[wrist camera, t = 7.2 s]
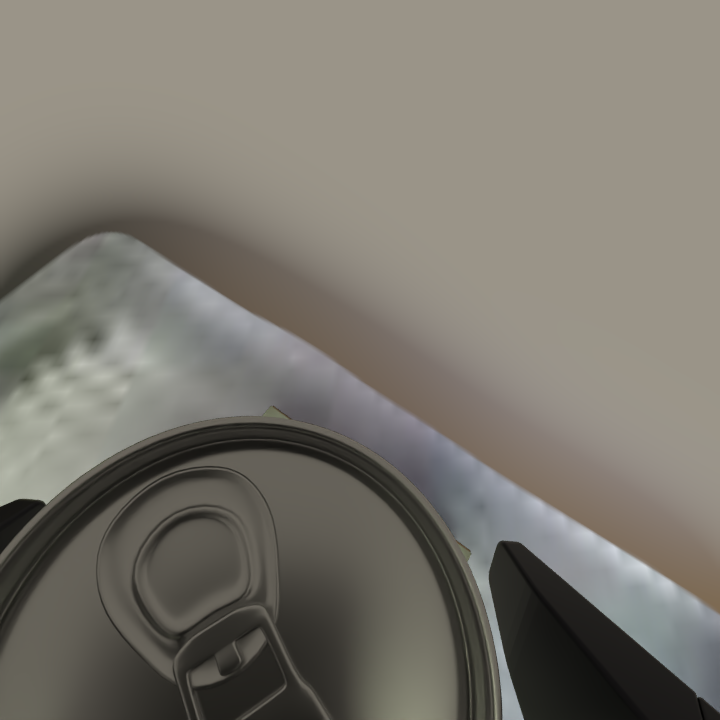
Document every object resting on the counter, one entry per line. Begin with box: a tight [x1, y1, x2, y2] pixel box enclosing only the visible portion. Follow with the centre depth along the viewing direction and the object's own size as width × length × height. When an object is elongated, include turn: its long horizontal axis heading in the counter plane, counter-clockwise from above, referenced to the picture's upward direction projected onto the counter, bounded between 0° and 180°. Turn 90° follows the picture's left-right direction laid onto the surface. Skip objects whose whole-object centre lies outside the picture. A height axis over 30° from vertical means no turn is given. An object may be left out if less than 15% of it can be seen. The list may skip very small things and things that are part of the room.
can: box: [0, 416, 502, 720], centre depth 9 cm, size 6×6×12 cm
